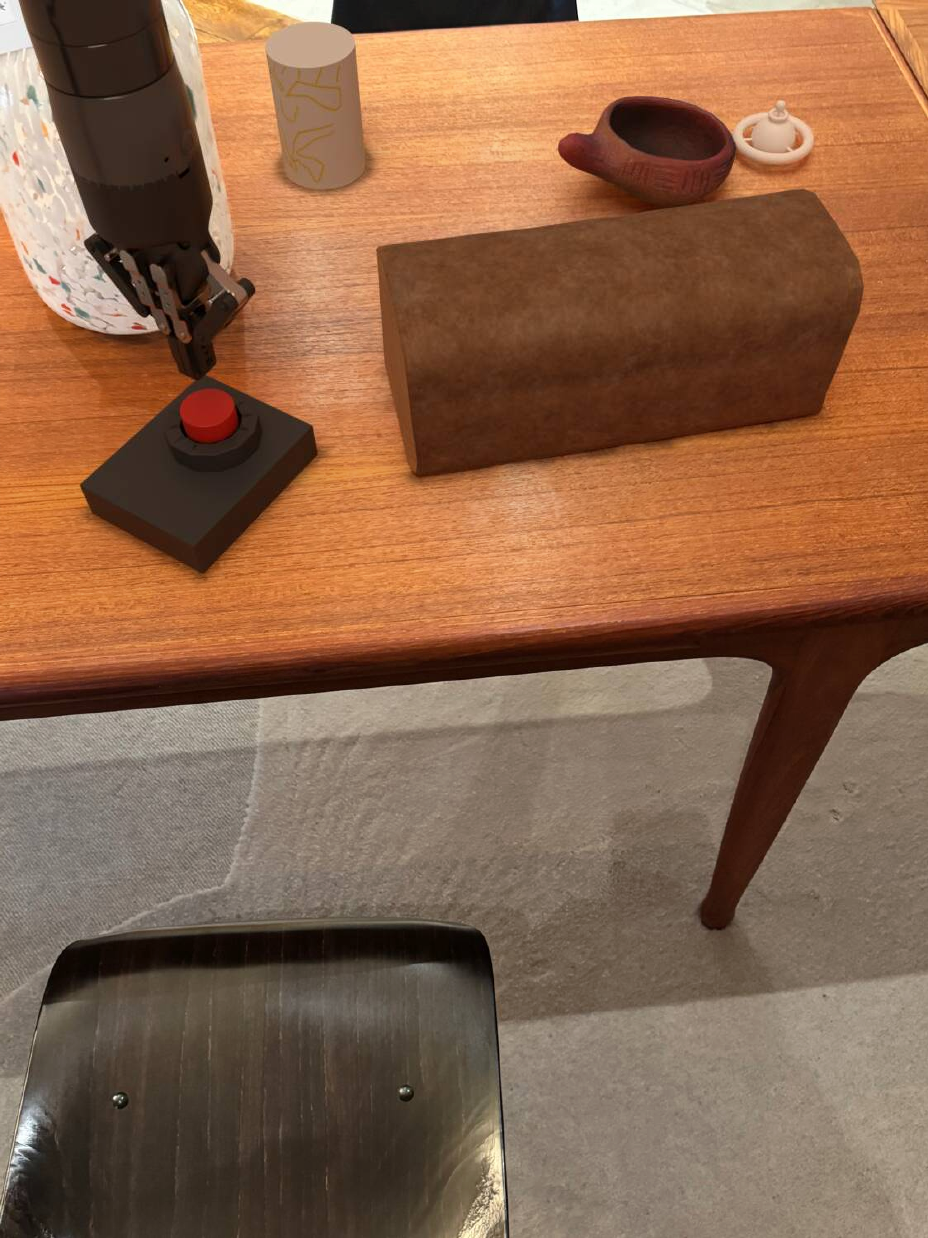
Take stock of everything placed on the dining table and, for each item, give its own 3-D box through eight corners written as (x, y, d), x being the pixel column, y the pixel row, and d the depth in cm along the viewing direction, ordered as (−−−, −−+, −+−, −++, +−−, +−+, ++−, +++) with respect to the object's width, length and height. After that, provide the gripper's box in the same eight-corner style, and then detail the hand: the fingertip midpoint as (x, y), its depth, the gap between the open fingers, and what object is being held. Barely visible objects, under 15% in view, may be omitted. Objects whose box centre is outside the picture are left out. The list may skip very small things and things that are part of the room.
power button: (215, 451, 78) (210, 434, 76) (173, 430, 79) (168, 413, 78) (249, 418, 80) (245, 400, 78) (208, 398, 81) (203, 381, 79)
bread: (826, 420, 86) (882, 273, 74) (412, 486, 82) (402, 342, 70) (764, 308, 93) (805, 159, 82) (383, 364, 90) (369, 216, 78)
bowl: (640, 138, 108) (651, 60, 102) (749, 185, 104) (767, 106, 97) (545, 212, 102) (549, 133, 95) (656, 266, 97) (669, 187, 90)
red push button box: (202, 574, 77) (187, 530, 73) (91, 512, 81) (71, 468, 76) (318, 454, 84) (310, 408, 80) (210, 402, 87) (197, 355, 83)
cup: (270, 178, 105) (249, 57, 95) (307, 135, 109) (291, 15, 99) (344, 196, 103) (330, 74, 93) (379, 152, 107) (369, 31, 97)
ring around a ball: (712, 149, 107) (766, 188, 104) (722, 95, 103) (778, 134, 99) (772, 122, 110) (826, 159, 106) (784, 68, 105) (841, 105, 101)
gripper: (1, 139, 61) (92, 367, 75) (176, 212, 57) (237, 439, 71) (92, 79, 64) (163, 308, 79) (263, 143, 60) (305, 373, 75)
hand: (198, 370), depth 75 cm, fingers closed
